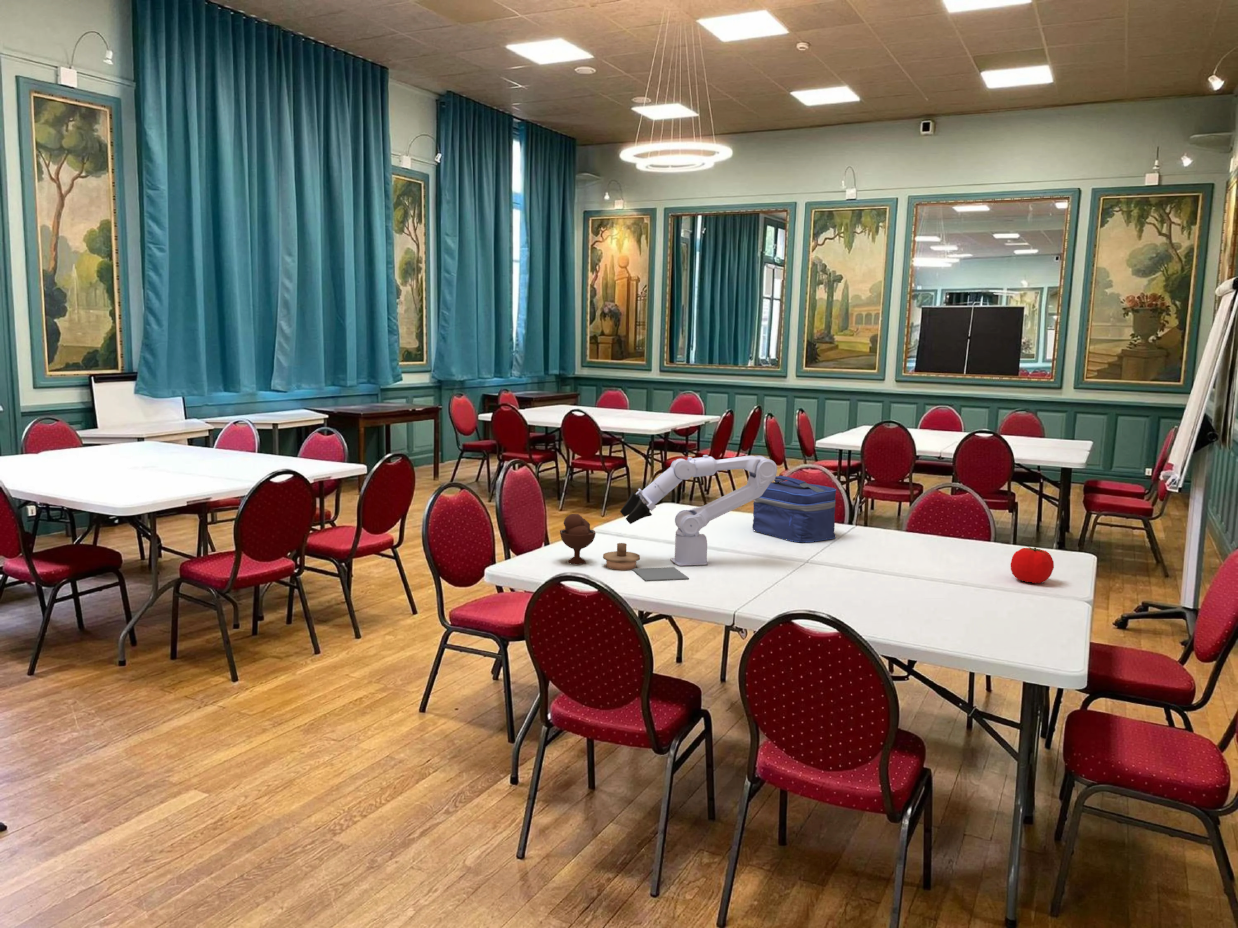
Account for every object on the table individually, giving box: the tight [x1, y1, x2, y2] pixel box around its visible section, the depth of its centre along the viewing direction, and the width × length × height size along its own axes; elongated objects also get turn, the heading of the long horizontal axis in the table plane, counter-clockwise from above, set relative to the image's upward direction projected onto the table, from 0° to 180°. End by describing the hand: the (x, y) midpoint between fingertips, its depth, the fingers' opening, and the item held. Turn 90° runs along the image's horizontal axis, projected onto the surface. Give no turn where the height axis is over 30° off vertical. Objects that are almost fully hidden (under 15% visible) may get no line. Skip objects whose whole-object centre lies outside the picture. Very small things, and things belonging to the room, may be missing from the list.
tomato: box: [1010, 545, 1055, 584], centre depth 268 cm, size 12×12×10 cm
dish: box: [605, 560, 637, 571], centre depth 273 cm, size 9×9×2 cm
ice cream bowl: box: [559, 513, 596, 566], centre depth 275 cm, size 11×11×15 cm
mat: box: [631, 566, 690, 582], centre depth 264 cm, size 13×13×1 cm
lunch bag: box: [752, 475, 837, 543], centre depth 327 cm, size 31×21×20 cm
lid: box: [602, 542, 641, 563], centre depth 272 cm, size 11×11×4 cm
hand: (624, 517), depth 275 cm, fingers open, 7 cm apart
